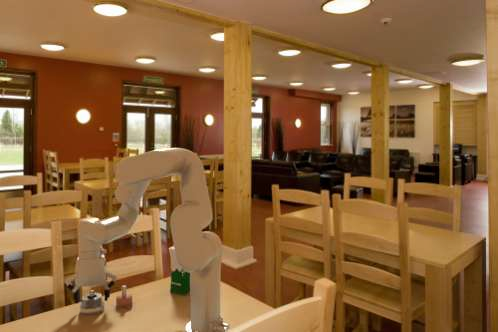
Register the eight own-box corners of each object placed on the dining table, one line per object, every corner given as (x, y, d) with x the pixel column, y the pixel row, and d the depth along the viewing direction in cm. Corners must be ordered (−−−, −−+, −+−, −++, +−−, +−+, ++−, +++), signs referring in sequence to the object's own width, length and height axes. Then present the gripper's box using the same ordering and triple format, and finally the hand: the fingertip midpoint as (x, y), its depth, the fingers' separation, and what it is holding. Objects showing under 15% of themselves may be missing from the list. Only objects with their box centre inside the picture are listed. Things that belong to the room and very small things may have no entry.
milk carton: (198, 288, 151) (197, 240, 149) (184, 297, 143) (183, 246, 141) (180, 284, 155) (180, 237, 153) (166, 292, 147) (165, 243, 145)
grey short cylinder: (103, 300, 136) (103, 292, 135) (99, 308, 129) (99, 299, 129) (84, 301, 134) (84, 293, 134) (80, 309, 128) (79, 301, 128)
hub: (109, 308, 133) (108, 289, 133) (89, 317, 126) (88, 297, 126) (95, 303, 138) (95, 284, 137) (75, 311, 131) (74, 292, 130)
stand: (135, 303, 137) (135, 285, 136) (123, 309, 132) (122, 290, 132) (125, 300, 140) (125, 282, 140) (113, 305, 135) (112, 287, 135)
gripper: (118, 248, 136) (119, 294, 137) (66, 251, 132) (68, 298, 134) (114, 255, 128) (116, 303, 130) (60, 258, 125) (62, 307, 126)
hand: (92, 300), depth 132 cm, fingers open, 9 cm apart
